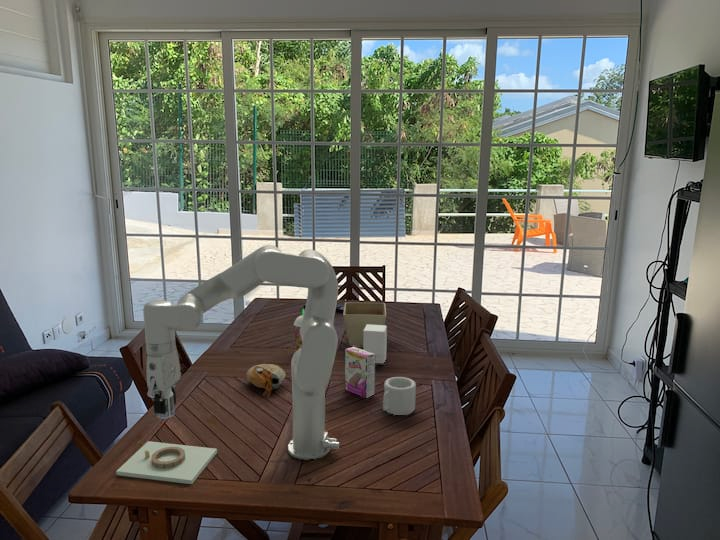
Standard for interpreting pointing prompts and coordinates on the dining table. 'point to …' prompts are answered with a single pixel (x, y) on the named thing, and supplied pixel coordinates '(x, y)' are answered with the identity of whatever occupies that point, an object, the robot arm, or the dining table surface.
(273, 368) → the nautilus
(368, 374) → the candy bar box
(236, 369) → the dining table surface
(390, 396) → the mug
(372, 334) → the supplement box
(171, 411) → the pill bottle
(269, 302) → the dining table surface
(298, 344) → the smoothie
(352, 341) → the flower pot
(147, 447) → the socket board
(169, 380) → the robot arm
